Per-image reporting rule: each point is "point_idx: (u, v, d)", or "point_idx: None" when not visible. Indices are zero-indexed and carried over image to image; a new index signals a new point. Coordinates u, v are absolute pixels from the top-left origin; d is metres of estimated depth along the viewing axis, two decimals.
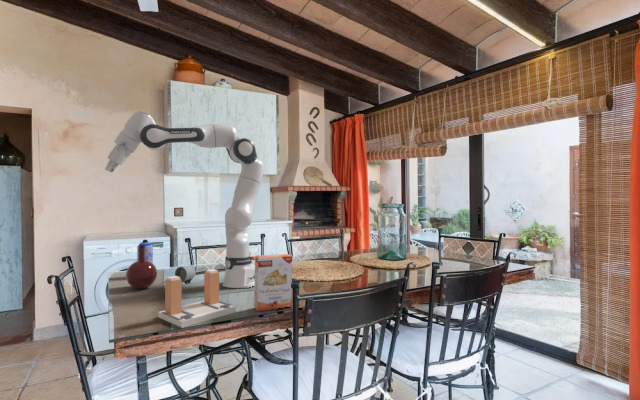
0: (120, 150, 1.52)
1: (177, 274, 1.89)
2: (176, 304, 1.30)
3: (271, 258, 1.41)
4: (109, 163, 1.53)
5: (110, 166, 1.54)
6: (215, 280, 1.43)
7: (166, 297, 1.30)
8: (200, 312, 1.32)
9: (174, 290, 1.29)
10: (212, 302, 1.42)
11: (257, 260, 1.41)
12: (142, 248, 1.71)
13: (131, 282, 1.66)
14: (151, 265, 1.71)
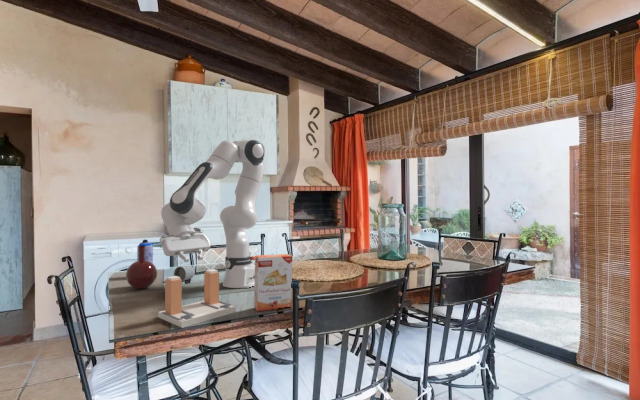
0: (164, 242, 1.48)
1: (176, 274, 1.89)
2: (176, 304, 1.30)
3: (271, 258, 1.41)
4: (180, 256, 1.49)
5: (183, 256, 1.49)
6: (215, 280, 1.43)
7: (166, 297, 1.30)
8: (200, 312, 1.32)
9: (174, 290, 1.29)
10: (212, 302, 1.42)
11: (257, 260, 1.41)
12: (142, 248, 1.71)
13: (131, 282, 1.66)
14: (151, 265, 1.71)
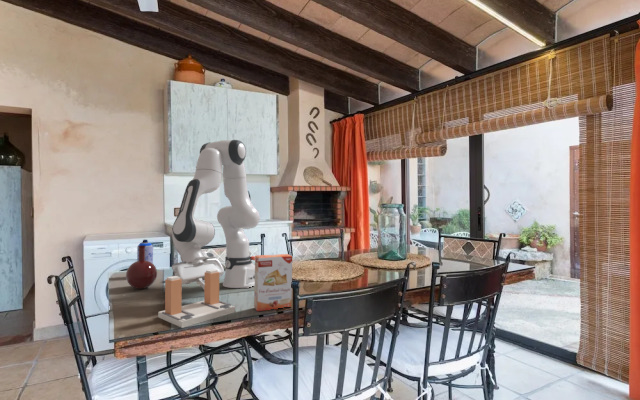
0: (176, 270, 1.42)
1: None
2: (176, 304, 1.30)
3: (271, 258, 1.41)
4: (199, 283, 1.45)
5: (202, 283, 1.44)
6: (215, 280, 1.43)
7: (166, 297, 1.30)
8: (200, 312, 1.32)
9: (174, 290, 1.29)
10: (212, 302, 1.42)
11: (257, 260, 1.41)
12: (142, 248, 1.71)
13: (131, 282, 1.66)
14: (151, 265, 1.71)
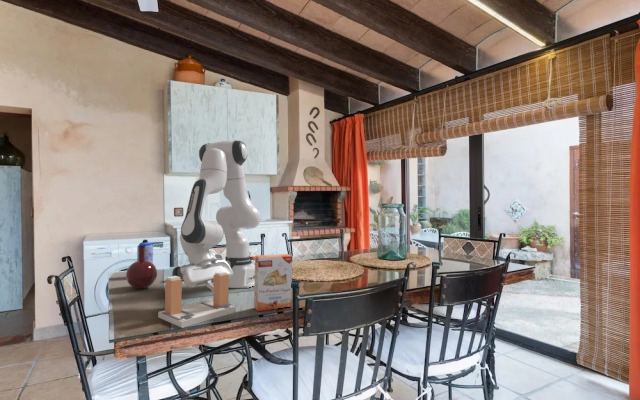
0: (185, 272, 1.38)
1: (174, 274, 1.89)
2: (176, 304, 1.30)
3: (271, 258, 1.41)
4: (207, 285, 1.41)
5: (211, 286, 1.41)
6: (225, 282, 1.39)
7: (166, 297, 1.30)
8: (200, 312, 1.32)
9: (174, 290, 1.29)
10: None
11: (257, 260, 1.41)
12: (142, 248, 1.71)
13: (131, 282, 1.66)
14: (151, 265, 1.71)
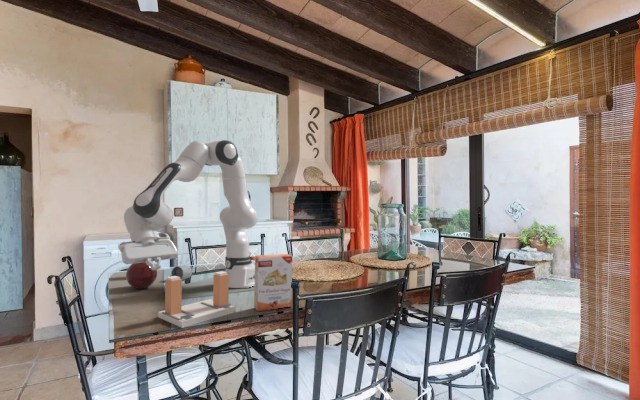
0: (123, 249, 1.35)
1: (173, 274, 1.90)
2: (176, 304, 1.30)
3: (271, 258, 1.41)
4: (147, 263, 1.38)
5: (150, 264, 1.38)
6: (225, 282, 1.39)
7: (166, 297, 1.30)
8: (200, 312, 1.32)
9: (174, 290, 1.29)
10: None
11: (257, 260, 1.41)
12: None
13: (131, 282, 1.66)
14: None
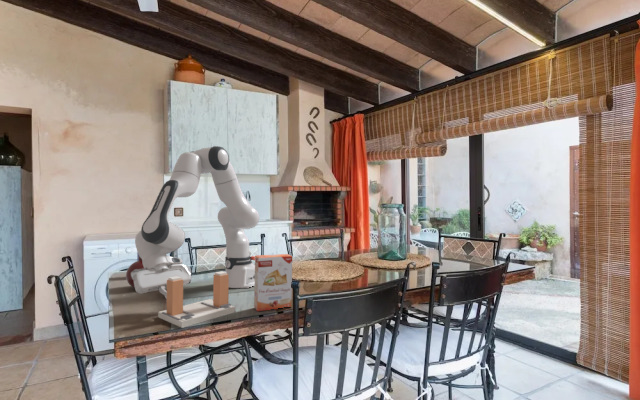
0: (135, 277, 1.29)
1: None
2: (177, 304, 1.29)
3: (271, 258, 1.41)
4: (161, 291, 1.32)
5: (164, 292, 1.32)
6: (225, 282, 1.39)
7: (167, 298, 1.30)
8: (200, 312, 1.32)
9: (175, 290, 1.29)
10: None
11: (257, 260, 1.41)
12: None
13: (131, 282, 1.66)
14: None
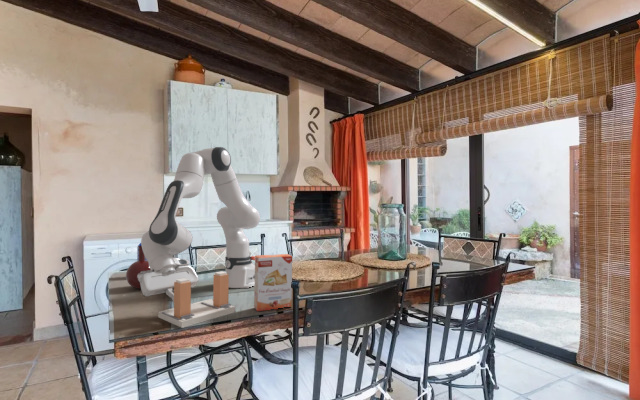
0: (142, 279, 1.25)
1: None
2: (185, 307, 1.26)
3: (271, 258, 1.41)
4: (168, 294, 1.29)
5: (171, 294, 1.28)
6: (225, 282, 1.39)
7: (175, 300, 1.27)
8: (200, 312, 1.32)
9: (183, 293, 1.25)
10: None
11: (257, 260, 1.41)
12: None
13: (131, 282, 1.66)
14: None
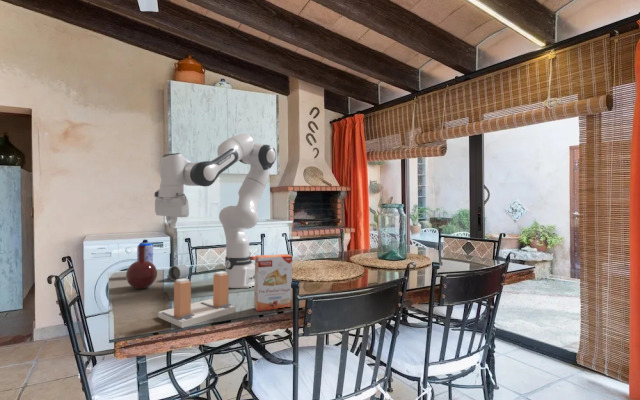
0: (186, 203, 1.42)
1: (170, 273, 1.90)
2: (185, 307, 1.26)
3: (271, 258, 1.41)
4: (173, 220, 1.45)
5: (174, 222, 1.46)
6: (225, 282, 1.39)
7: (175, 300, 1.27)
8: (200, 312, 1.32)
9: (183, 293, 1.25)
10: None
11: (257, 260, 1.41)
12: (142, 248, 1.71)
13: (131, 282, 1.66)
14: (151, 265, 1.71)
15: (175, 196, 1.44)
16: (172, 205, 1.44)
